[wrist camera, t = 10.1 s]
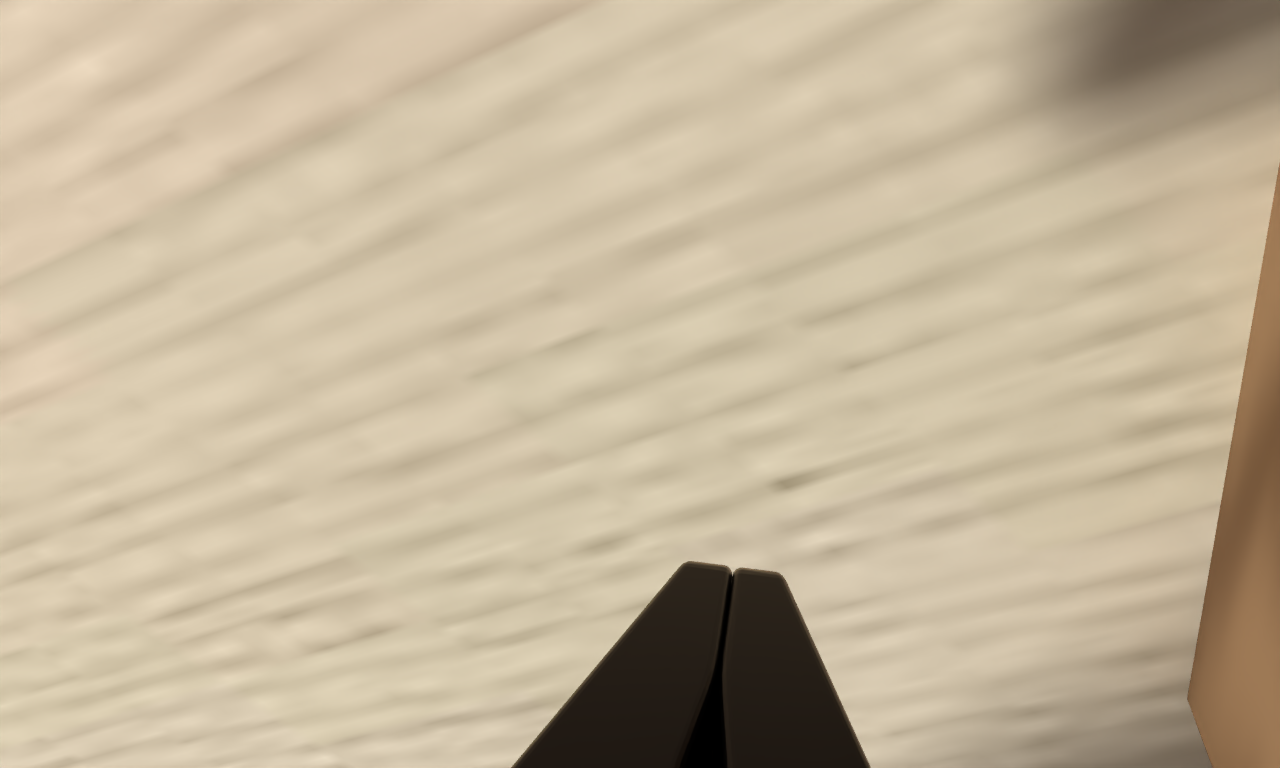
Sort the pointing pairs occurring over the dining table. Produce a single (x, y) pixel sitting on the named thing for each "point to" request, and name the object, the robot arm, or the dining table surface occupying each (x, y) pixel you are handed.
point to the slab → (1247, 558)
